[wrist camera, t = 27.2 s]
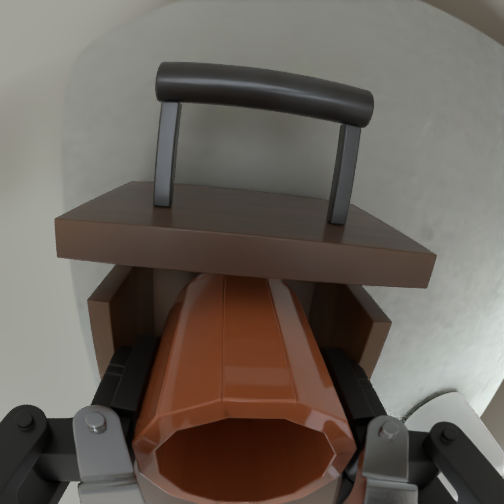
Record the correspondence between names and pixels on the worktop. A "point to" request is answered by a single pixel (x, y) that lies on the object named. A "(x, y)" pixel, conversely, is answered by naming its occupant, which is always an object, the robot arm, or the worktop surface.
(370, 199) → the worktop surface
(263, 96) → the drawer
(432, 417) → the beverage can
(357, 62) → the worktop surface
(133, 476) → the robot arm
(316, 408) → the cup
